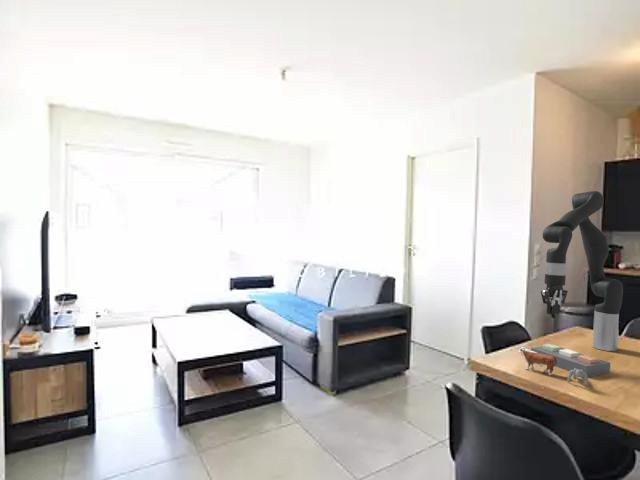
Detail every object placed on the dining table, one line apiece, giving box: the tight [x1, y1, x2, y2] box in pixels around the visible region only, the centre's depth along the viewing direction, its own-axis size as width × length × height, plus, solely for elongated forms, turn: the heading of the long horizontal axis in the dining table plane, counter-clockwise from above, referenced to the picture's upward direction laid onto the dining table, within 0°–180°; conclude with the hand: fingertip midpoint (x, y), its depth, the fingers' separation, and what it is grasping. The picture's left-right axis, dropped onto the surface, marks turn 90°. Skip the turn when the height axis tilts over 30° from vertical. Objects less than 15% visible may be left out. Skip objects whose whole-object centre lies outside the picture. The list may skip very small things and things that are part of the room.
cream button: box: [559, 348, 580, 358], centre depth 153 cm, size 5×5×3 cm
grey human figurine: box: [566, 368, 590, 388], centre depth 133 cm, size 6×5×12 cm
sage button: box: [542, 343, 561, 352], centre depth 160 cm, size 5×5×3 cm
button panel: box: [530, 346, 611, 378], centre depth 153 cm, size 14×23×4 cm, turn 22°
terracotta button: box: [577, 354, 599, 364], centre depth 146 cm, size 5×5×3 cm
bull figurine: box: [518, 346, 557, 376], centre depth 144 cm, size 4×13×8 cm, turn 44°
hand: (553, 313), depth 159 cm, fingers open, 3 cm apart
